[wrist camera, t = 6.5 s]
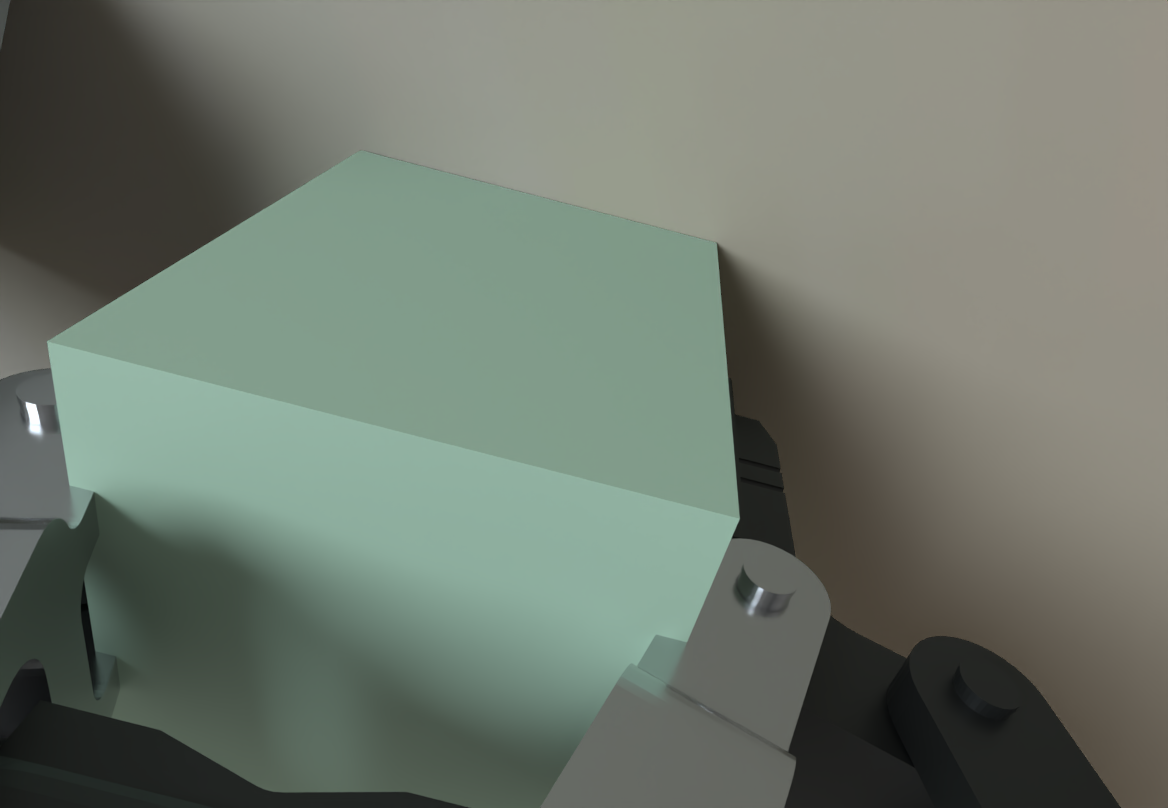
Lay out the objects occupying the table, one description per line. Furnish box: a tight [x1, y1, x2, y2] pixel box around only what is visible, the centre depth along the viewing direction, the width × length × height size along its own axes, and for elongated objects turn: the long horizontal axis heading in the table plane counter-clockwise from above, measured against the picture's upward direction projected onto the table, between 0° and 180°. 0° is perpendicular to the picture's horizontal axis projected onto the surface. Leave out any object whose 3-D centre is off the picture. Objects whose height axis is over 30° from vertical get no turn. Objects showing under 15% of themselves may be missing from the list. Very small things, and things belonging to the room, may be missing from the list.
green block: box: [47, 150, 740, 808], centre depth 9 cm, size 5×5×6 cm
